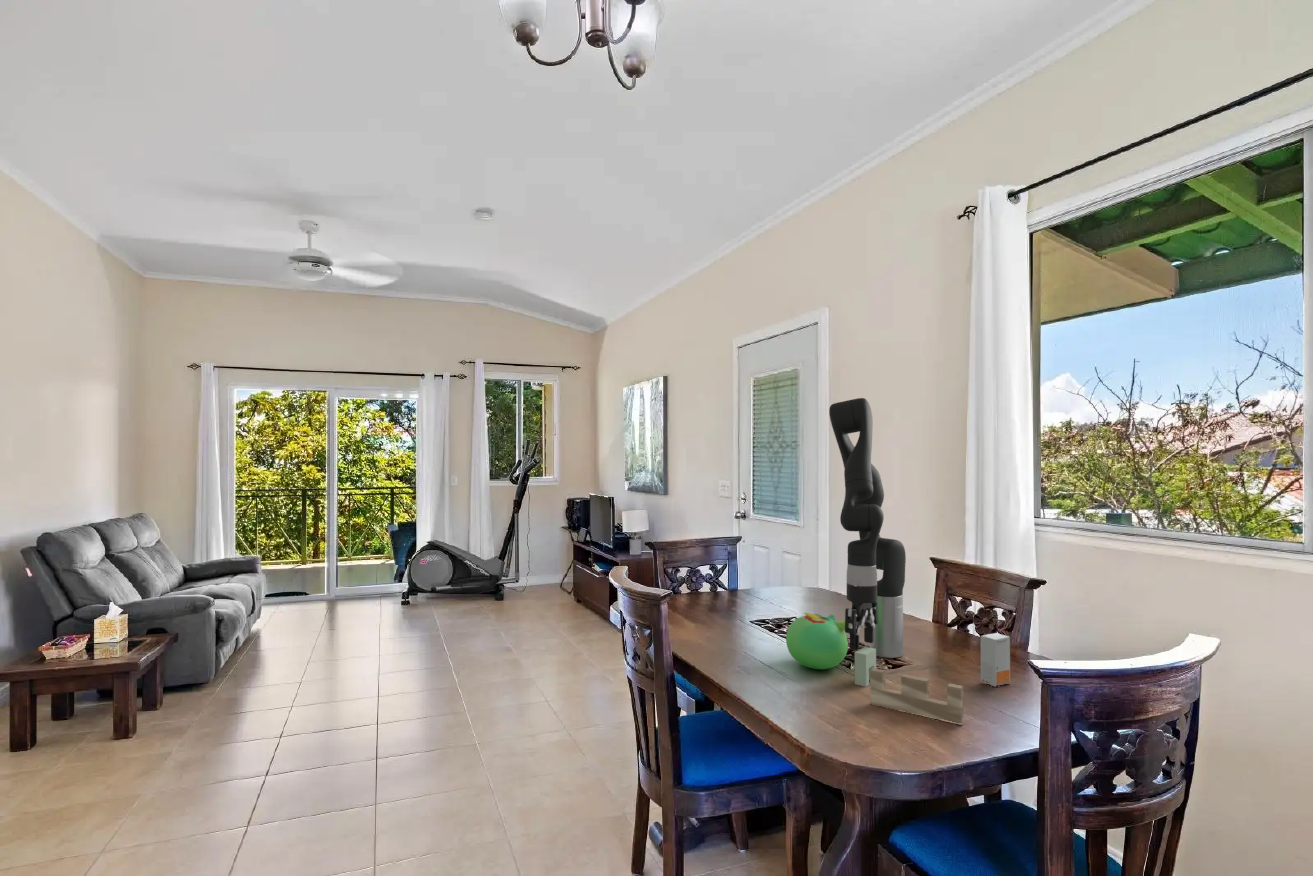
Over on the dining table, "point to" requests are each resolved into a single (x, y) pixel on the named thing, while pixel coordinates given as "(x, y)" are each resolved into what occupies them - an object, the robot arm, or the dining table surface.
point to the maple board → (917, 697)
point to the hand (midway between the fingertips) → (861, 646)
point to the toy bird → (817, 641)
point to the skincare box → (995, 658)
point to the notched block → (864, 665)
